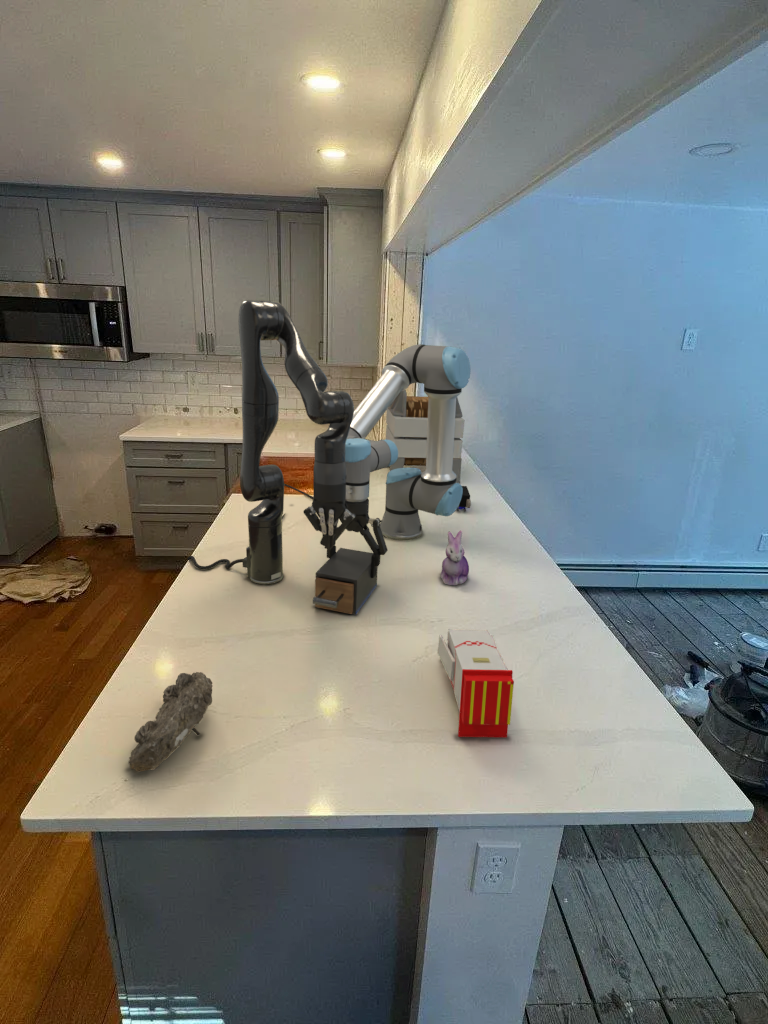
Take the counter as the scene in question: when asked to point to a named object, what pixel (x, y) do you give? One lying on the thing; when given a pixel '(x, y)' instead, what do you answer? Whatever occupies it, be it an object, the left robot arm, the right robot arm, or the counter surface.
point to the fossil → (172, 721)
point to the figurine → (454, 561)
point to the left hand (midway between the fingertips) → (329, 547)
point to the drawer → (334, 595)
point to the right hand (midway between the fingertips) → (352, 572)
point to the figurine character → (464, 499)
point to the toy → (478, 682)
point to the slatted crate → (417, 431)
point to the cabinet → (351, 573)
